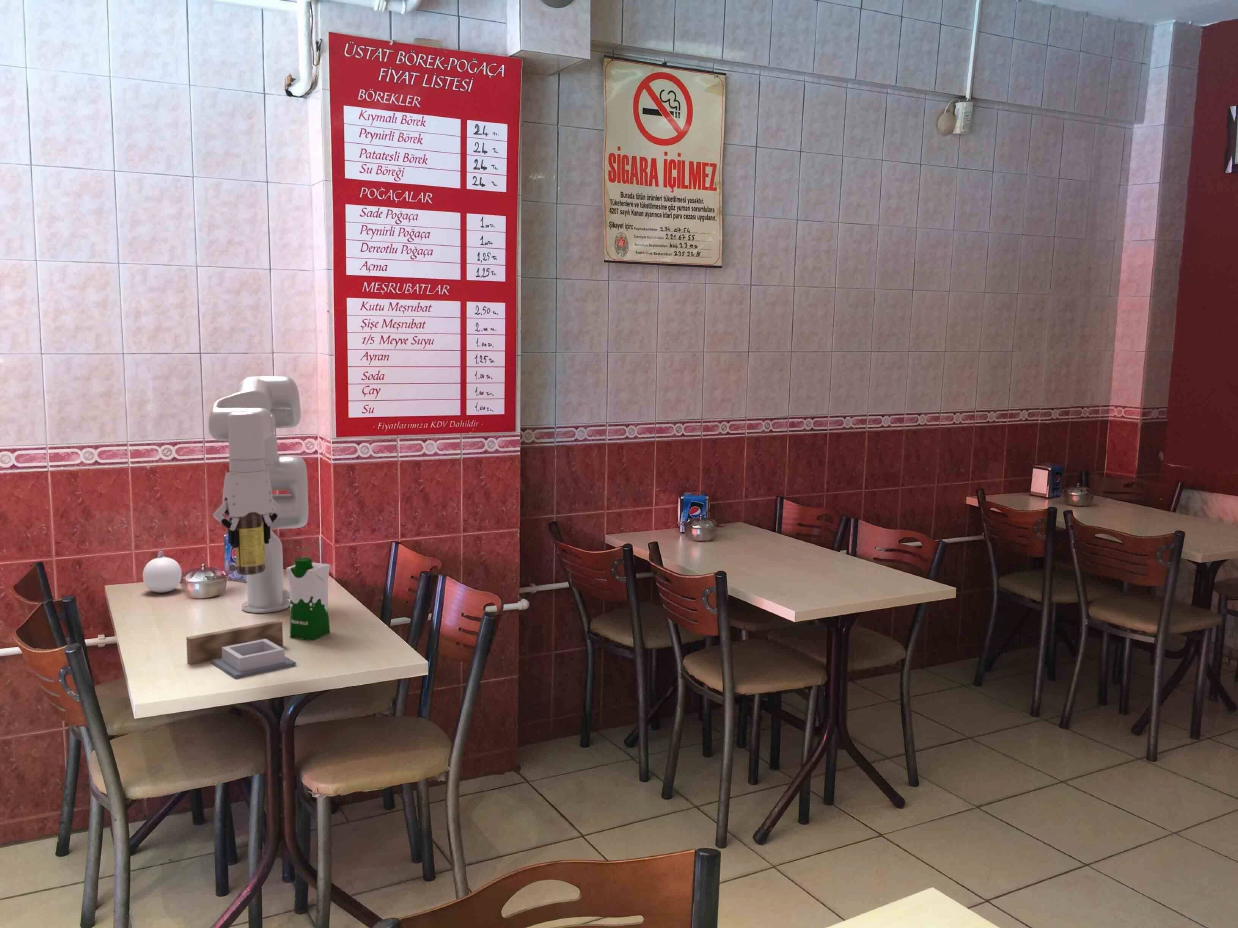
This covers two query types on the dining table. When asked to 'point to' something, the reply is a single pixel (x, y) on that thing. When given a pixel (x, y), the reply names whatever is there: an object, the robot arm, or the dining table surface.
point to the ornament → (162, 574)
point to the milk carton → (308, 599)
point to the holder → (252, 658)
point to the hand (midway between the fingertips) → (249, 544)
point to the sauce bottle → (250, 545)
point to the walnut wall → (231, 640)
